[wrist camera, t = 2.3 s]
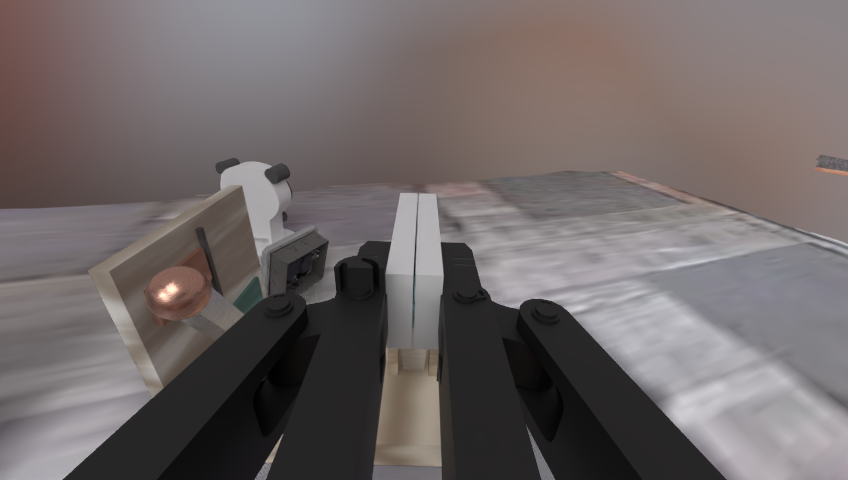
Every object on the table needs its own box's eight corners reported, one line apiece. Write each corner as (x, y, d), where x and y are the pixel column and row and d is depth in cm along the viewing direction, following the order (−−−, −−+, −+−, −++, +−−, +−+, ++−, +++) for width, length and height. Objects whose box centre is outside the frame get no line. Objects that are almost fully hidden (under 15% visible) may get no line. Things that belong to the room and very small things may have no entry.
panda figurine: (311, 233, 66) (301, 158, 60) (276, 262, 57) (259, 176, 50) (258, 226, 69) (242, 152, 62) (215, 252, 59) (191, 168, 52)
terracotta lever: (250, 373, 32) (119, 307, 18) (260, 339, 34) (147, 255, 19) (284, 374, 32) (180, 309, 18) (291, 340, 34) (203, 257, 19)
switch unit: (179, 460, 28) (80, 270, 19) (261, 328, 42) (226, 184, 34) (450, 466, 29) (474, 282, 20) (442, 333, 43) (453, 192, 34)
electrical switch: (308, 269, 55) (305, 219, 50) (333, 281, 53) (332, 230, 49) (260, 300, 48) (251, 244, 43) (287, 314, 46) (280, 258, 41)
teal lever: (396, 377, 32) (384, 315, 18) (398, 343, 34) (389, 263, 20) (429, 377, 32) (444, 317, 18) (429, 344, 34) (443, 264, 20)
